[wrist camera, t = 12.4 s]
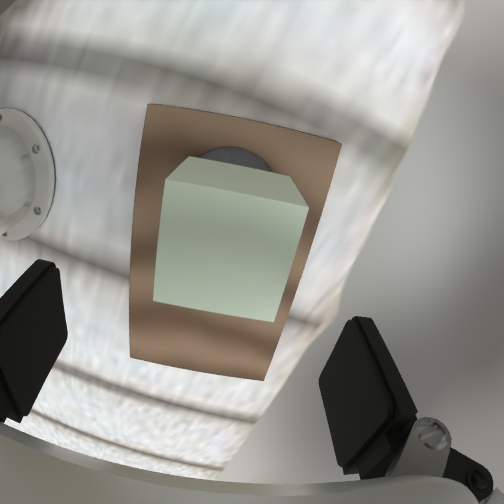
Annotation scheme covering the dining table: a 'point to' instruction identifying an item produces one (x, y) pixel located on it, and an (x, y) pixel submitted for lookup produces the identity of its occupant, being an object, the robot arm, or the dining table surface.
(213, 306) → the pale green cube
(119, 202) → the dining table surface
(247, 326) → the board
